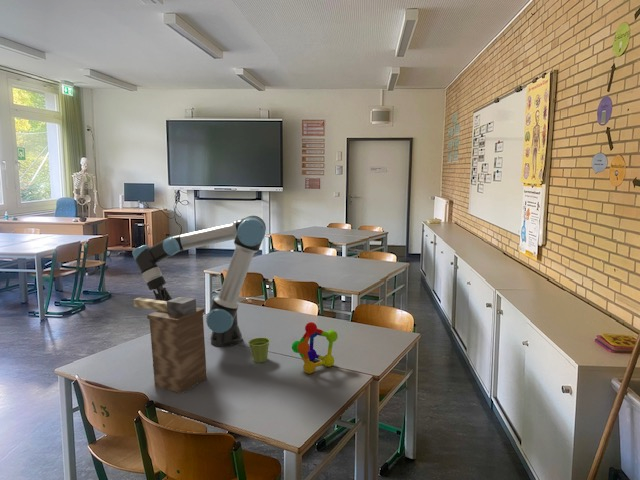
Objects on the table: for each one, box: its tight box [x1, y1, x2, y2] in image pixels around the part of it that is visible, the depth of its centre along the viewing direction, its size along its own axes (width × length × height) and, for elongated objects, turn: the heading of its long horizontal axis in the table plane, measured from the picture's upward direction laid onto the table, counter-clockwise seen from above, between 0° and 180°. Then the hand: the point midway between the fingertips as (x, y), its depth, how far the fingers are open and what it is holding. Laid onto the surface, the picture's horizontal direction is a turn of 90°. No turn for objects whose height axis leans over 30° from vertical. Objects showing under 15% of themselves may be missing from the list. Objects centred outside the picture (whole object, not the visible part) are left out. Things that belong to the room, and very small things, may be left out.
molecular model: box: [291, 321, 338, 375], centre depth 193 cm, size 21×15×20 cm
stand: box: [146, 306, 208, 394], centre depth 180 cm, size 15×15×29 cm
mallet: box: [133, 296, 197, 317], centre depth 181 cm, size 28×7×5 cm, turn 64°
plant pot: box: [248, 337, 271, 363], centre depth 201 cm, size 9×9×9 cm
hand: (175, 322), depth 203 cm, fingers open, 13 cm apart
